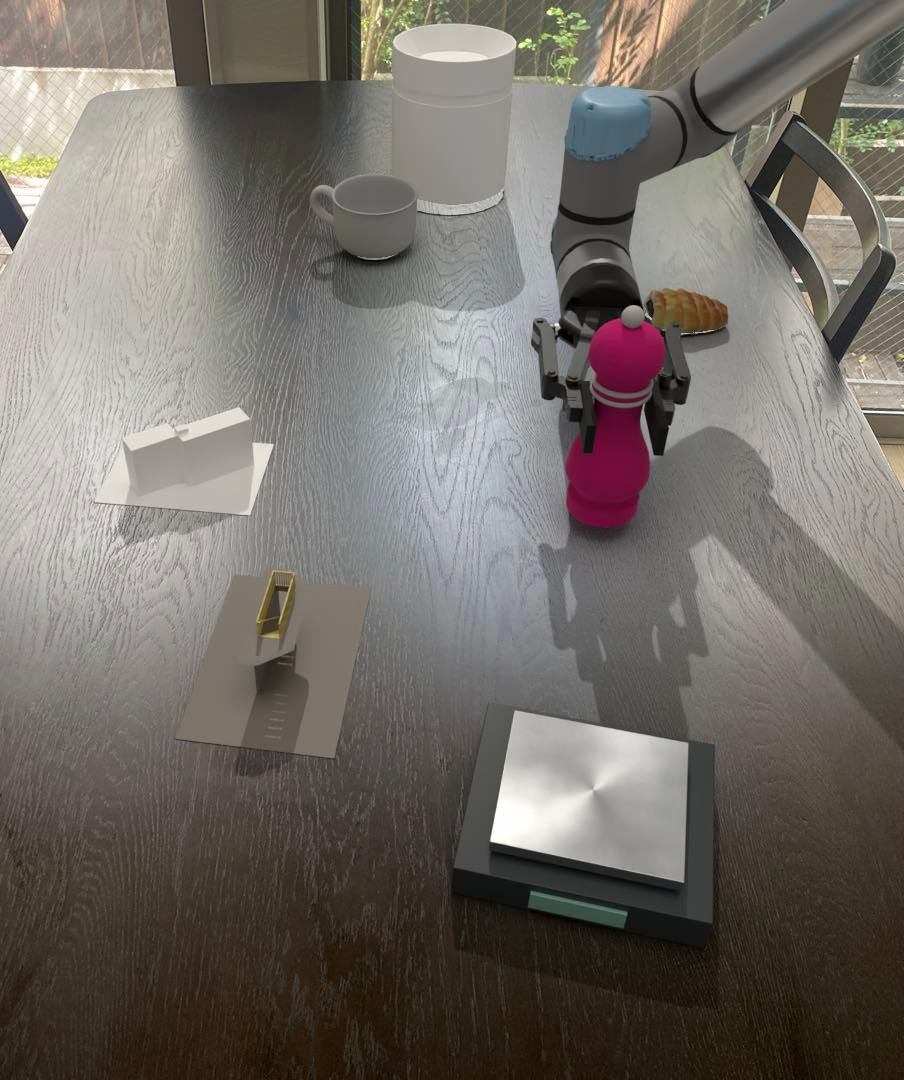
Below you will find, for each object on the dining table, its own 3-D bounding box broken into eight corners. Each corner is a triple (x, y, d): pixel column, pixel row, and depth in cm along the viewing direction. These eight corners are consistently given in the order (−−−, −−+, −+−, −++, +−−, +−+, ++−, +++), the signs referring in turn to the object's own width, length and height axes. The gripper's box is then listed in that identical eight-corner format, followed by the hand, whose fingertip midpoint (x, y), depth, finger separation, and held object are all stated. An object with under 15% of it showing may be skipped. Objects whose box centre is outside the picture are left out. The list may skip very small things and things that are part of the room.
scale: (706, 770, 77) (715, 744, 76) (703, 952, 67) (713, 927, 65) (485, 728, 80) (488, 701, 79) (449, 896, 70) (452, 870, 68)
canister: (490, 222, 145) (502, 67, 132) (376, 207, 149) (377, 55, 136) (515, 176, 156) (528, 29, 143) (409, 163, 160) (412, 19, 147)
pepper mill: (643, 535, 94) (685, 333, 81) (559, 528, 95) (587, 327, 82) (640, 484, 99) (679, 287, 86) (561, 478, 100) (587, 281, 87)
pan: (686, 751, 75) (689, 742, 74) (681, 891, 67) (684, 882, 66) (513, 719, 77) (514, 710, 76) (488, 850, 69) (489, 841, 68)
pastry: (718, 309, 127) (725, 279, 125) (732, 339, 122) (740, 309, 120) (638, 309, 127) (644, 280, 125) (649, 339, 122) (655, 309, 120)
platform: (371, 588, 92) (371, 530, 88) (334, 758, 78) (332, 699, 74) (234, 574, 93) (227, 516, 89) (175, 738, 80) (163, 679, 76)
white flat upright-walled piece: (274, 442, 108) (271, 394, 104) (251, 515, 99) (246, 466, 95) (128, 432, 109) (119, 384, 105) (93, 503, 101) (82, 454, 97)
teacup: (431, 243, 140) (433, 184, 135) (390, 278, 133) (390, 216, 128) (340, 220, 146) (338, 162, 141) (295, 252, 139) (292, 192, 134)
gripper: (686, 335, 105) (730, 482, 88) (501, 330, 106) (508, 474, 89) (701, 264, 100) (751, 405, 83) (507, 259, 101) (515, 397, 84)
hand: (625, 440), depth 86 cm, fingers closed on pepper mill, 5 cm apart
